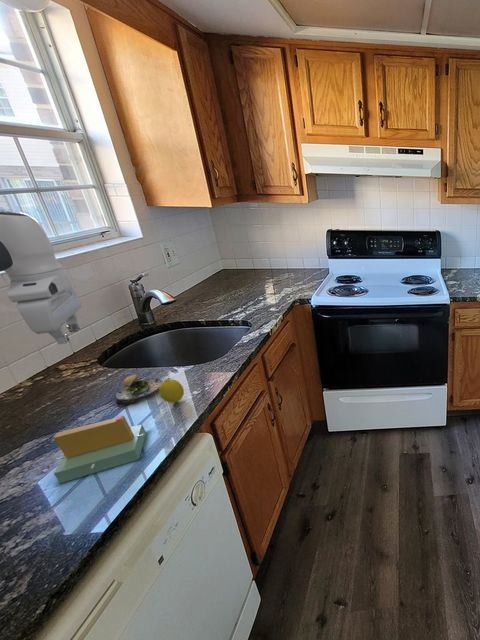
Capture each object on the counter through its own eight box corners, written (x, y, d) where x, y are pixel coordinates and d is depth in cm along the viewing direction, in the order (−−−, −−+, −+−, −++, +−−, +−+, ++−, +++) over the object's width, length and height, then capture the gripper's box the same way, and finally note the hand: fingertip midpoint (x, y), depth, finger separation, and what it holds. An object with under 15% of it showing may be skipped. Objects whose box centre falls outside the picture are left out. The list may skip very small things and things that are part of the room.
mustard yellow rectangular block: (66, 458, 83) (53, 437, 80) (69, 453, 84) (56, 432, 82) (132, 439, 88) (121, 419, 85) (133, 435, 90) (123, 414, 87)
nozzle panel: (49, 493, 78) (41, 483, 76) (73, 448, 90) (67, 438, 89) (143, 464, 85) (137, 454, 83) (153, 426, 98) (148, 416, 96)
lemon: (180, 395, 111) (171, 372, 107) (191, 399, 108) (182, 376, 105) (160, 405, 106) (150, 382, 103) (171, 410, 104) (161, 386, 100)
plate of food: (136, 406, 106) (126, 385, 103) (106, 402, 108) (94, 380, 105) (174, 384, 116) (165, 364, 113) (145, 381, 119) (136, 360, 116)
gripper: (41, 275, 92) (67, 325, 97) (2, 297, 75) (36, 356, 81) (74, 271, 94) (97, 320, 100) (44, 292, 78) (74, 349, 84)
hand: (70, 336), depth 91 cm, fingers open, 7 cm apart
